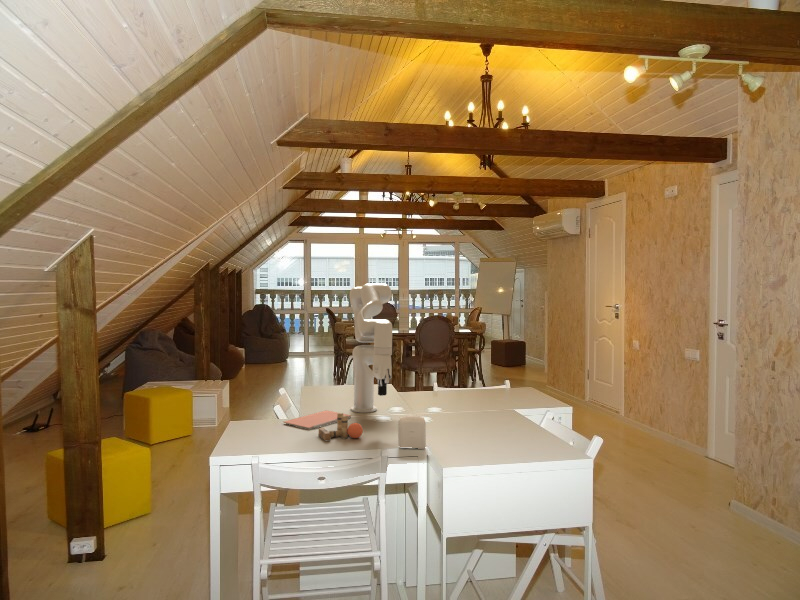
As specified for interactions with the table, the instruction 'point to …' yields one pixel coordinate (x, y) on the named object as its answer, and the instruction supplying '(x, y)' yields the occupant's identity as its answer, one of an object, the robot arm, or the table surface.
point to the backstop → (324, 433)
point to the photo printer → (412, 432)
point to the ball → (355, 430)
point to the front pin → (335, 433)
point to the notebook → (315, 419)
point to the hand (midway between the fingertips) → (382, 394)
